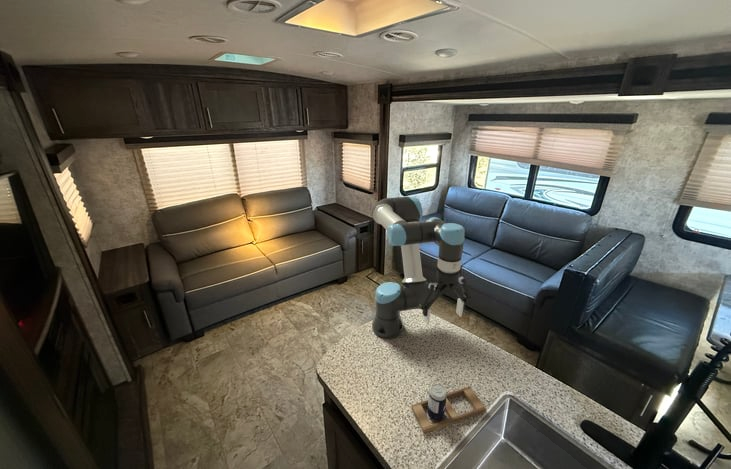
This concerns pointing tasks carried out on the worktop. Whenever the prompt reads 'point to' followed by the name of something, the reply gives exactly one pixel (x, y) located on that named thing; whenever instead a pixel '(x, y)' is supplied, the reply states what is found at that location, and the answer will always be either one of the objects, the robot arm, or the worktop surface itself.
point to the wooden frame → (448, 410)
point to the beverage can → (437, 402)
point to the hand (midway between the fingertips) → (442, 318)
